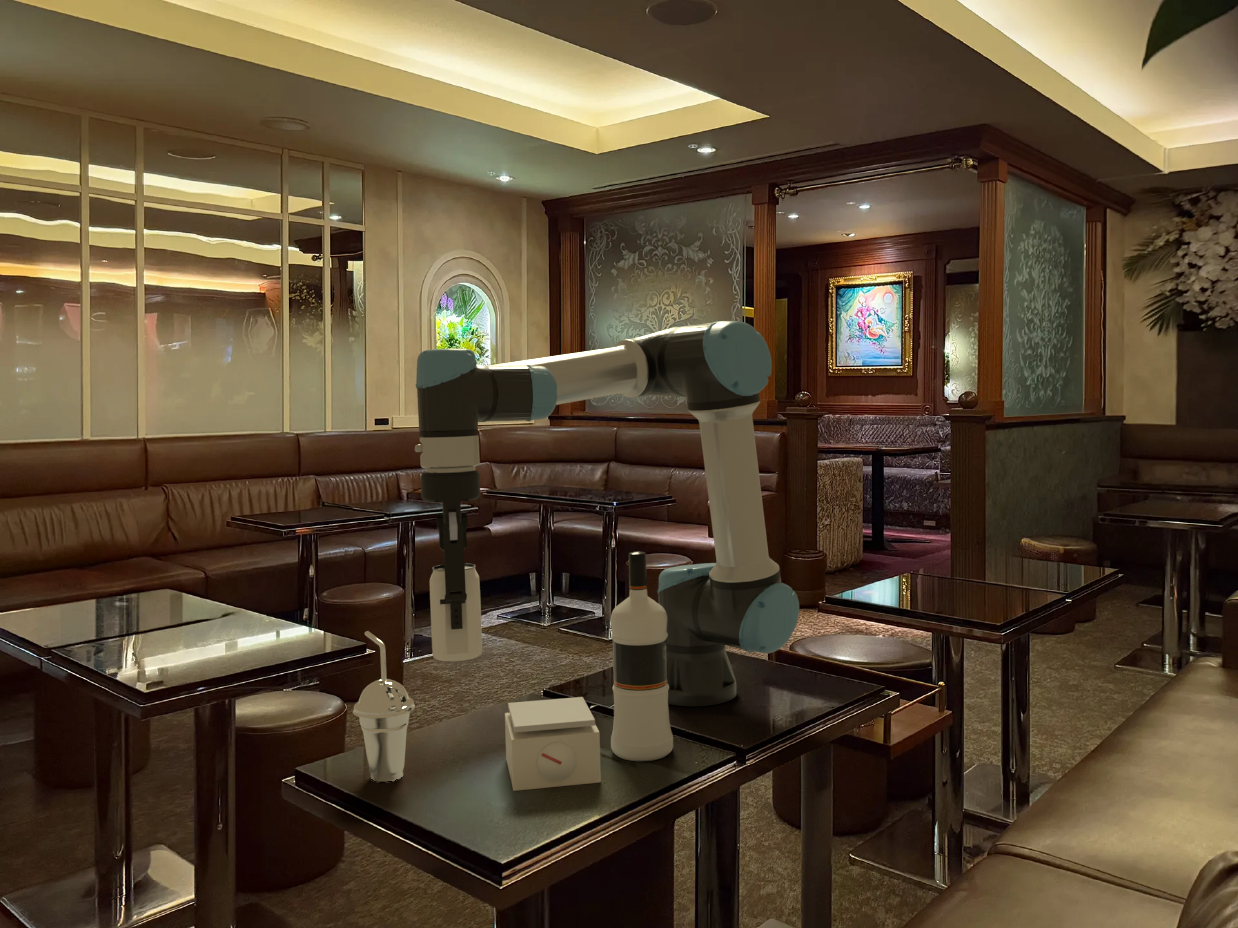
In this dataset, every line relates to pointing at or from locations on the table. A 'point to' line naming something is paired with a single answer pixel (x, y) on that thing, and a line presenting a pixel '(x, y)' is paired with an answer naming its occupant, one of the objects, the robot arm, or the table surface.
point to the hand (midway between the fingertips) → (456, 647)
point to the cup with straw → (384, 722)
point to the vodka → (640, 672)
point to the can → (439, 615)
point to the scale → (551, 744)
